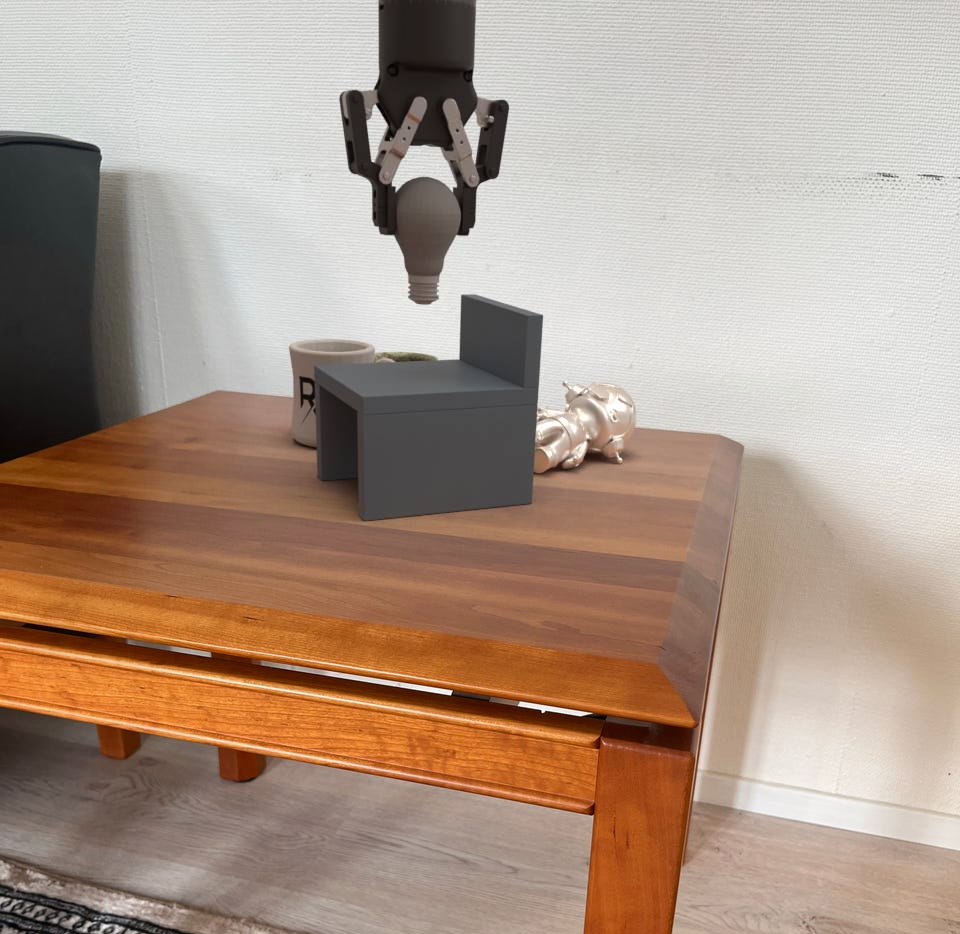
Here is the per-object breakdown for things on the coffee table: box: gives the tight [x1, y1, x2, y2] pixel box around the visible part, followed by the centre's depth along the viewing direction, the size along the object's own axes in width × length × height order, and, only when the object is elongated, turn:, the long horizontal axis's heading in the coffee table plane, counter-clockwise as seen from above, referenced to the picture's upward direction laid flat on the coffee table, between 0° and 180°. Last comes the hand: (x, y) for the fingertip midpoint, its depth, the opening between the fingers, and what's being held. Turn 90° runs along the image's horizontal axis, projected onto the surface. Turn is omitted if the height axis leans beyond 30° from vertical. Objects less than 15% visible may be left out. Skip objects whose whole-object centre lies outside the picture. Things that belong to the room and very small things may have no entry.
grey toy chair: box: [314, 293, 544, 522], centre depth 92 cm, size 16×14×16 cm
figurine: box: [534, 380, 637, 474], centre depth 105 cm, size 11×7×15 cm
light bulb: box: [393, 176, 461, 306], centre depth 86 cm, size 6×6×10 cm
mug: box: [288, 338, 395, 448], centre depth 108 cm, size 12×9×10 cm
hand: (424, 234), depth 85 cm, fingers closed on light bulb, 6 cm apart
